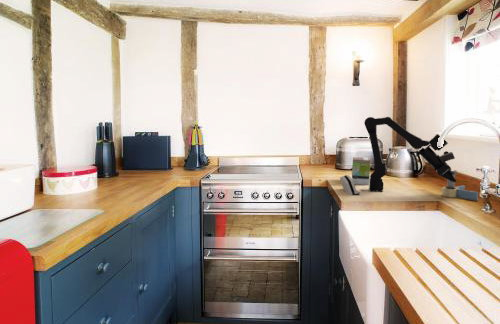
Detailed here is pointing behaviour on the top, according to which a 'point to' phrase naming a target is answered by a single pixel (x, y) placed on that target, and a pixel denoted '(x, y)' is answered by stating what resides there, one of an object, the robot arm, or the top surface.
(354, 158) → the tea box
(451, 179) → the robot arm
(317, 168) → the top surface
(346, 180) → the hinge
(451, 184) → the pin
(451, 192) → the hinge barrel
